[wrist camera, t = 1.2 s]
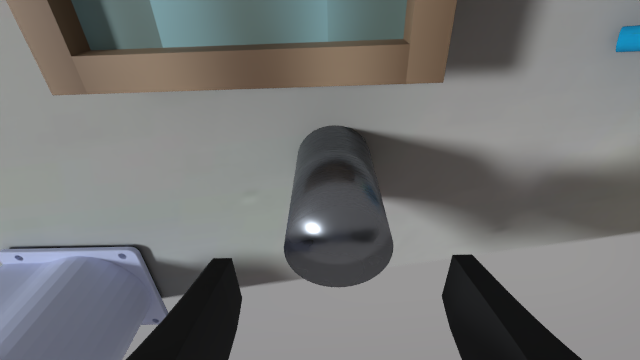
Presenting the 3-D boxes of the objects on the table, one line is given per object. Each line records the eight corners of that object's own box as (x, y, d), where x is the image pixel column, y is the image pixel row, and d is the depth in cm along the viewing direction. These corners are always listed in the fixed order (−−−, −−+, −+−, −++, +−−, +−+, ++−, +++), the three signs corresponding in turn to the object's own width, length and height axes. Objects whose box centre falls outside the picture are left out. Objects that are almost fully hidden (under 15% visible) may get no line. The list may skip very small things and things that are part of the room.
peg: (300, 190, 19) (289, 288, 13) (294, 126, 17) (278, 209, 11) (368, 188, 19) (388, 286, 13) (371, 124, 17) (398, 206, 11)
